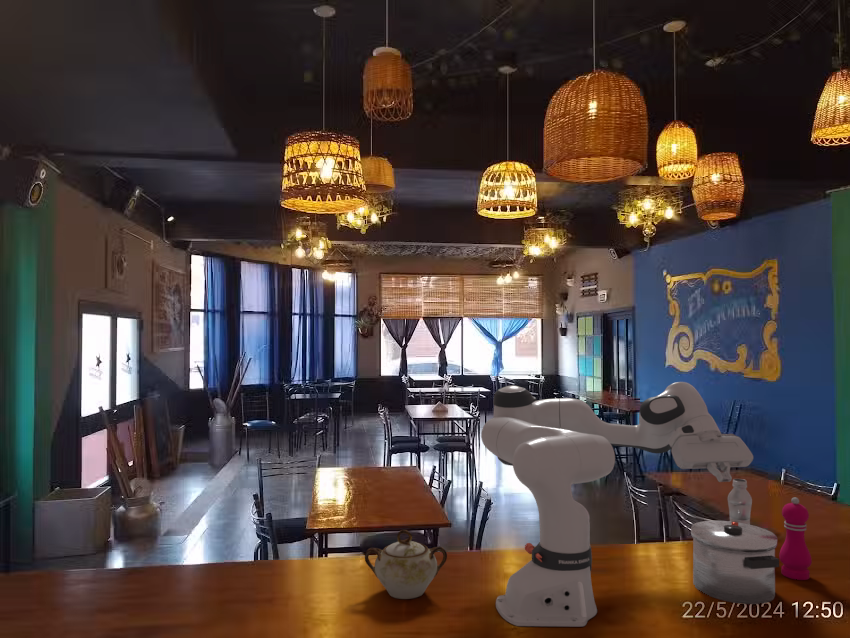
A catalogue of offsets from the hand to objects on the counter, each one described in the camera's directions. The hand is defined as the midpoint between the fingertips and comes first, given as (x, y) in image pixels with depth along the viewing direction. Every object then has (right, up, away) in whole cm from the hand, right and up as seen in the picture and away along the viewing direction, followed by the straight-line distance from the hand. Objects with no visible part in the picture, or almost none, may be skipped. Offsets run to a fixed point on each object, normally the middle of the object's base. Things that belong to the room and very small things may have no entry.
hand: (725, 480), depth 163 cm
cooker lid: (0, -13, -3) cm, 14 cm away
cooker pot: (0, -25, -3) cm, 26 cm away
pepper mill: (+20, -26, +5) cm, 33 cm away
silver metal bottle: (+15, -26, +23) cm, 38 cm away
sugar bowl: (-80, -25, -6) cm, 84 cm away
